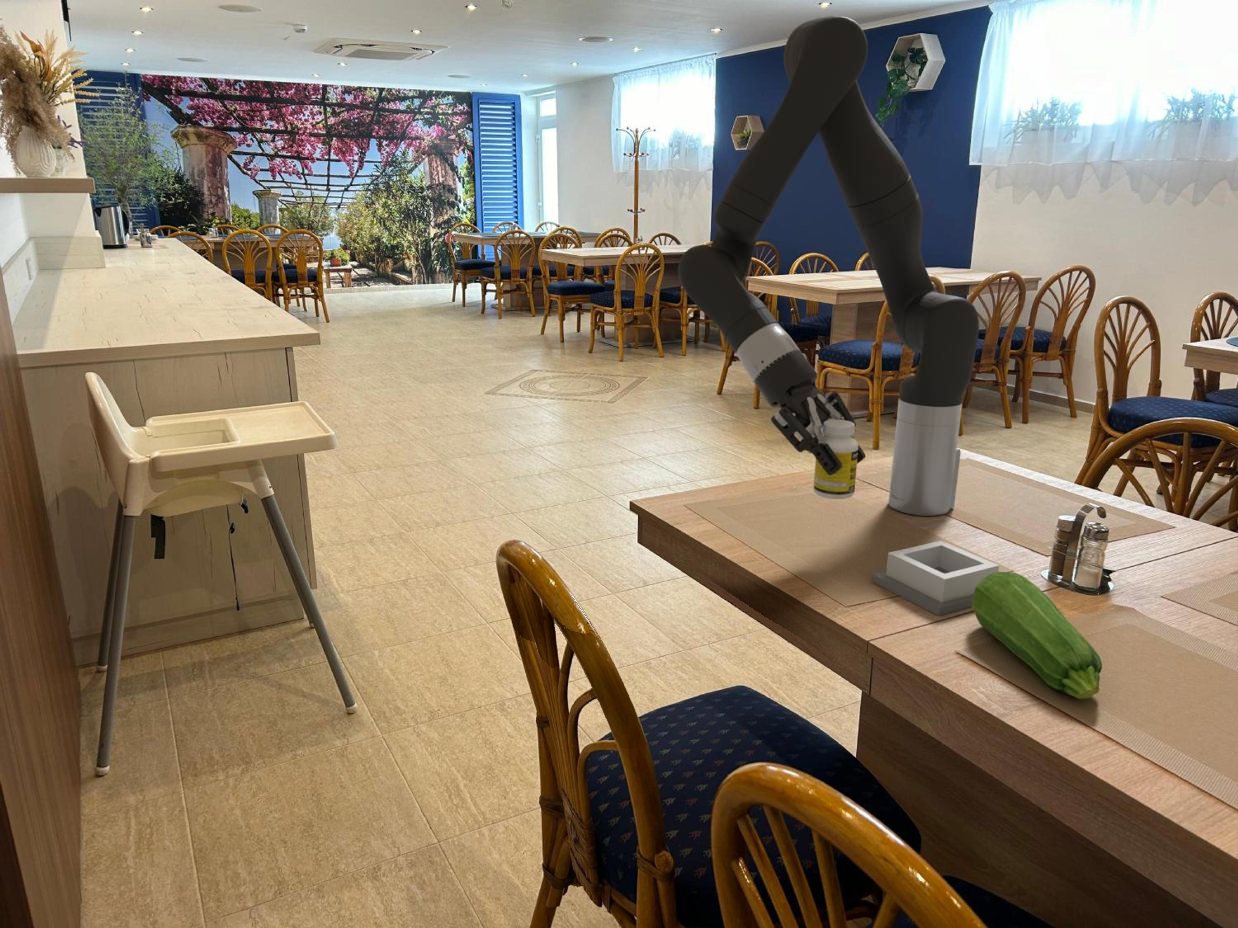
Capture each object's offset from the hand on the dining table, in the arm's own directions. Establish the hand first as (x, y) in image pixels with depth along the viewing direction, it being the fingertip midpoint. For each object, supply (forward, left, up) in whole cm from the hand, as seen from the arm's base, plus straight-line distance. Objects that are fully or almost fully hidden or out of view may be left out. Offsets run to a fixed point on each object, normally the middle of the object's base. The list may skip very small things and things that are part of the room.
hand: (848, 465), depth 118 cm
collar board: (-4, +14, -13) cm, 19 cm away
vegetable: (+1, +31, -13) cm, 34 cm away
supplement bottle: (+1, -2, -5) cm, 5 cm away
